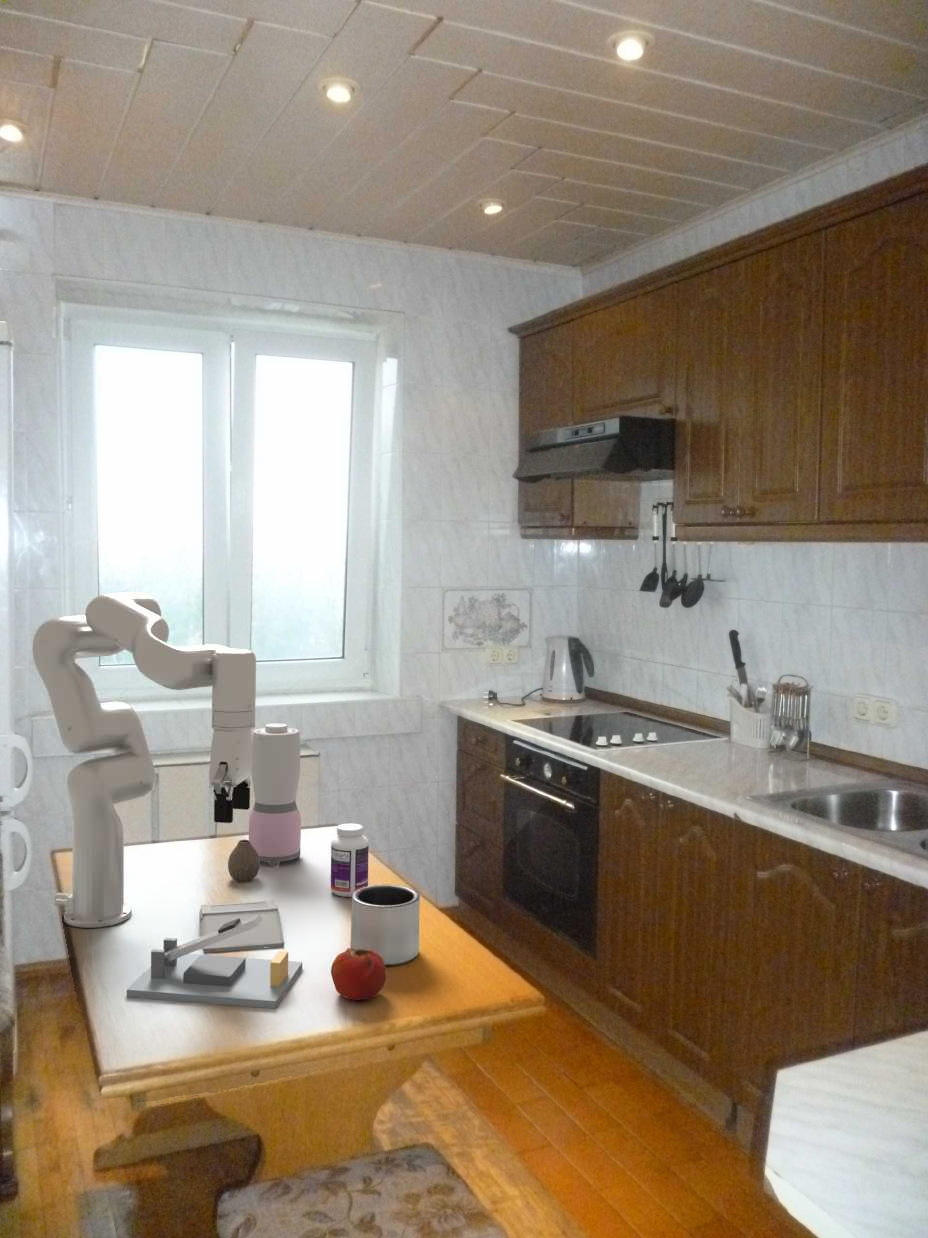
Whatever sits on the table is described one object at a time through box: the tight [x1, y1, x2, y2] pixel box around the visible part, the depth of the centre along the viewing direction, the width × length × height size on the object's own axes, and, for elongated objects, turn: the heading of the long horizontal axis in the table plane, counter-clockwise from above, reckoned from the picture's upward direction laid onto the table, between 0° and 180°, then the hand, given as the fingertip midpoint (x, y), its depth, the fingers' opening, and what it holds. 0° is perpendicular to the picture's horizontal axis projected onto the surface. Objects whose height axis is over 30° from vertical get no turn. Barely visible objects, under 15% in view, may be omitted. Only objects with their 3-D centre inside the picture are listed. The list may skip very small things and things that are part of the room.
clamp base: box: [126, 937, 303, 1009], centre depth 176 cm, size 25×16×6 cm, turn 83°
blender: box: [248, 723, 302, 868], centre depth 245 cm, size 16×12×32 cm
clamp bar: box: [165, 914, 263, 963], centre depth 175 cm, size 19×4×2 cm, turn 83°
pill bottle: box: [330, 822, 370, 898], centre depth 222 cm, size 8×8×14 cm
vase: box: [227, 839, 261, 883], centre depth 229 cm, size 7×7×9 cm
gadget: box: [199, 899, 285, 953], centre depth 201 cm, size 23×15×4 cm, turn 15°
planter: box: [349, 884, 421, 967], centre depth 189 cm, size 12×12×11 cm
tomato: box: [330, 947, 387, 1001], centre depth 172 cm, size 9×9×8 cm
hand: (232, 815), depth 184 cm, fingers open, 8 cm apart
